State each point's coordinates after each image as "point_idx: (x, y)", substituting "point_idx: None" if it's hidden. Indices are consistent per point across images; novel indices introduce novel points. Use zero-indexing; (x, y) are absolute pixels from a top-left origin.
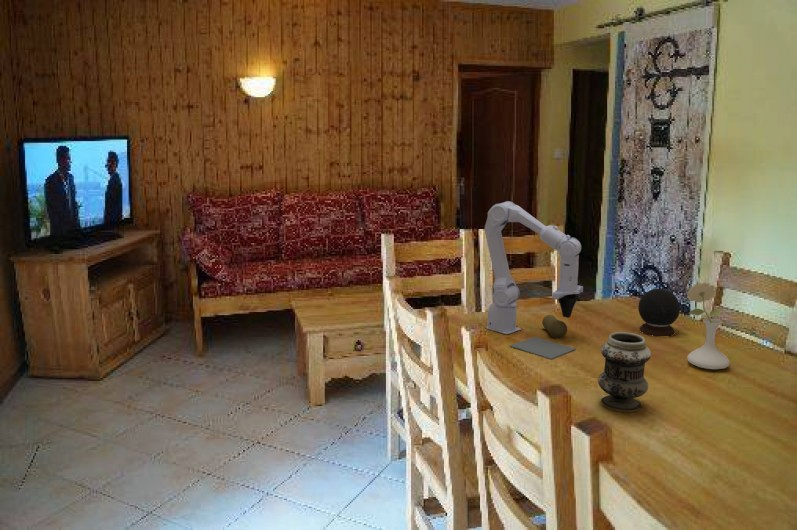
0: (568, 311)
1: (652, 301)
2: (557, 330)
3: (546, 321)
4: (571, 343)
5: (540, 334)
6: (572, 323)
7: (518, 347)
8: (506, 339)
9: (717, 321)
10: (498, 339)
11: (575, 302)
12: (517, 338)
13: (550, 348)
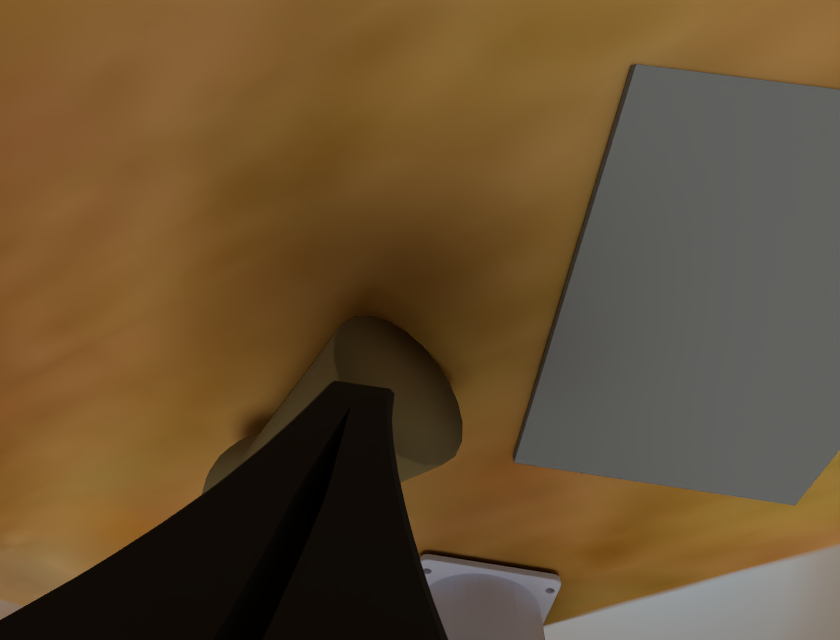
0: (396, 463)
1: None
2: (410, 384)
3: None
4: (459, 200)
5: None
6: (49, 397)
7: (819, 454)
8: (641, 550)
9: None
10: (665, 575)
11: (81, 587)
12: (585, 517)
13: (745, 270)
